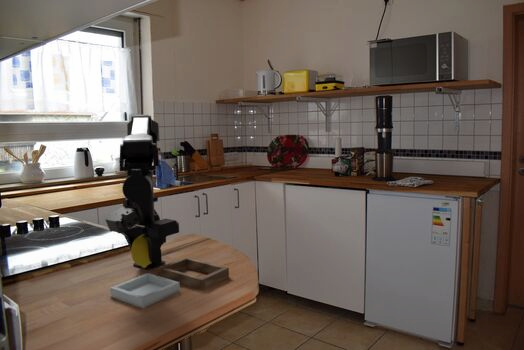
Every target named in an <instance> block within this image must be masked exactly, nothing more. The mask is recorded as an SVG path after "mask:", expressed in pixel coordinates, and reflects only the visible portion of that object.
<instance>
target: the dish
mask: <svg viewBox="0 0 524 350" xmlns="http://www.w3.org/2000/svg"><path fill="white" fill-rule="evenodd" d="M180 286H181V285H180V282H177V281H174V280H170V279H167V278H163V277H160V276H158V275H156V274H153V273H149V272H146V273H144V274H142V275H139V276H136V277H135V278H132V279H129V280H126V281H124V282H121V283H118V284H116V285H113V286H110V289H109V290H110V297H111V298H114V299H116V300H119V301H121V302H124V303H128V304H130V305H132V306H136V307H138V308H141V309H145V308H147V307H149V306H151V305H153V304H155V303H157V302H160V301H162V300H164V299H166V298H168V297H171V296H172V295H174V294H177V293H180V292H181V287H180Z"/></svg>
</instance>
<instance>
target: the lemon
mask: <svg viewBox="0 0 524 350" xmlns="http://www.w3.org/2000/svg"><path fill="white" fill-rule="evenodd" d="M143 236H144V235H141V236H139V237H138V238H136V239H135V240H134V242H133V244H132V248H131V250H130V252H131V258H132V259H131V260H132V261H133V262H134V263H136V264H137V265H140V266H142V267H143V268H142V269H144V268H146V267H147V265H149V264H151V263H152V262H150V258H149V251H148V242H147V240H146V239H144V238H143Z"/></svg>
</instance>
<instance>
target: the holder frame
mask: <svg viewBox="0 0 524 350" xmlns="http://www.w3.org/2000/svg"><path fill="white" fill-rule="evenodd" d="M184 269H190V270H194V271H197V272H202V273H203V274H204V273H205V274H206V275H204V276H203V277H199V276H196V275H193V274H189V273H186V272H181V271H183V270H184ZM229 269H230V268H229V267H227V266H223V265H219V264H216V263H212V262H206V261H202V260H198V259H195V258H191V257H186V256H185V257H182V258H179V259H177V260H175V261H172V262H169V263H167V264H165V265H164V264H163V265H160V266H158V267H157V274H158V275H157V276H160V277H163V278H167V279H170V280H174V281H177V282H180V284H181V285H183V286H188V287H191V288H194V289H198V290H201V291H204V290H205V289H208V288H210V287H212V286H214V285H216V284H218V283H220V282H222V281H224V280H226V279H228V278H229V277H230V271H229Z"/></svg>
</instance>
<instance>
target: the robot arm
mask: <svg viewBox="0 0 524 350" xmlns="http://www.w3.org/2000/svg"><path fill="white" fill-rule="evenodd" d="M159 126H160V125H159V123H158V122H156V121H155V120H154V119H152V115H149V114H134V115H131V117H130V120H129V122H128V123H127V125H126V127H127V129H126V133H127V134H126V136H124V138H123V141H122V143H120V146H119V172H126V178H125V180H124V182H123V184H122V188H121V189H122V190H121V191H122V193H123V196H124V198H123V202H122V207H120V208H118V209H116V210H114V211H112V213H109V214H108V215H107V216H105V218H104V221H105V223H106V225H107V228H108V229H109V230H108V231H109V232H115V233H117V234H121V235H123V237H124V238H125V241H126V243H127V244H128V247H129V249H130V251H131V248H132V244H133V242H134V240H135V239H136V238H138V237H139V236H141V235H144V236H143V238H144V239H146V240H147V242H148V251H149V258H150V262H152V263H151V264H149V265H147V267H146V268H143V267H142V266H140V265H137V264H136V263H135V262H134V263H133V265H132V266H134V267H136V268H139V269H140V268H141V269H144V270H151V269H154V268H156V267H157V268H158V267H160V266H163V265H164V264H165V265H166V261H165V260H162V248H161V247H162V246H163V245H164V244H165V243H167V237H168V236H172V235H175V234H178V233H180V223H179V222H178V221H177V220H176V219H175V220H174V219H170V218H167V217H166V218H162V219H161V217H160V215H159V213H158V212H157V211H156V209H155V203H157V202H159V198H158V196H155V194H154V172H153V171H156V170H157V167H159V166H160V164H159V163H160V161H159V160H160V155H159V148H158V142H160V127H159Z"/></svg>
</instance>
